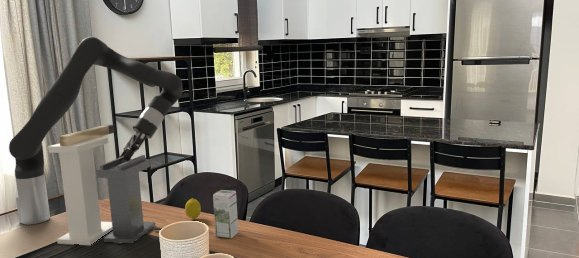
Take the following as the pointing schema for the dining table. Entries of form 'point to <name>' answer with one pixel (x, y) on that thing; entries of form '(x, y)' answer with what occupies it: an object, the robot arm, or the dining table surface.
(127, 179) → the holder
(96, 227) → the white i-beam pedestal
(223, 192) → the syrup box
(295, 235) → the dining table surface
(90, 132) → the bar
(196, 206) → the lemon
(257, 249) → the dining table surface
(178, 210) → the dining table surface
